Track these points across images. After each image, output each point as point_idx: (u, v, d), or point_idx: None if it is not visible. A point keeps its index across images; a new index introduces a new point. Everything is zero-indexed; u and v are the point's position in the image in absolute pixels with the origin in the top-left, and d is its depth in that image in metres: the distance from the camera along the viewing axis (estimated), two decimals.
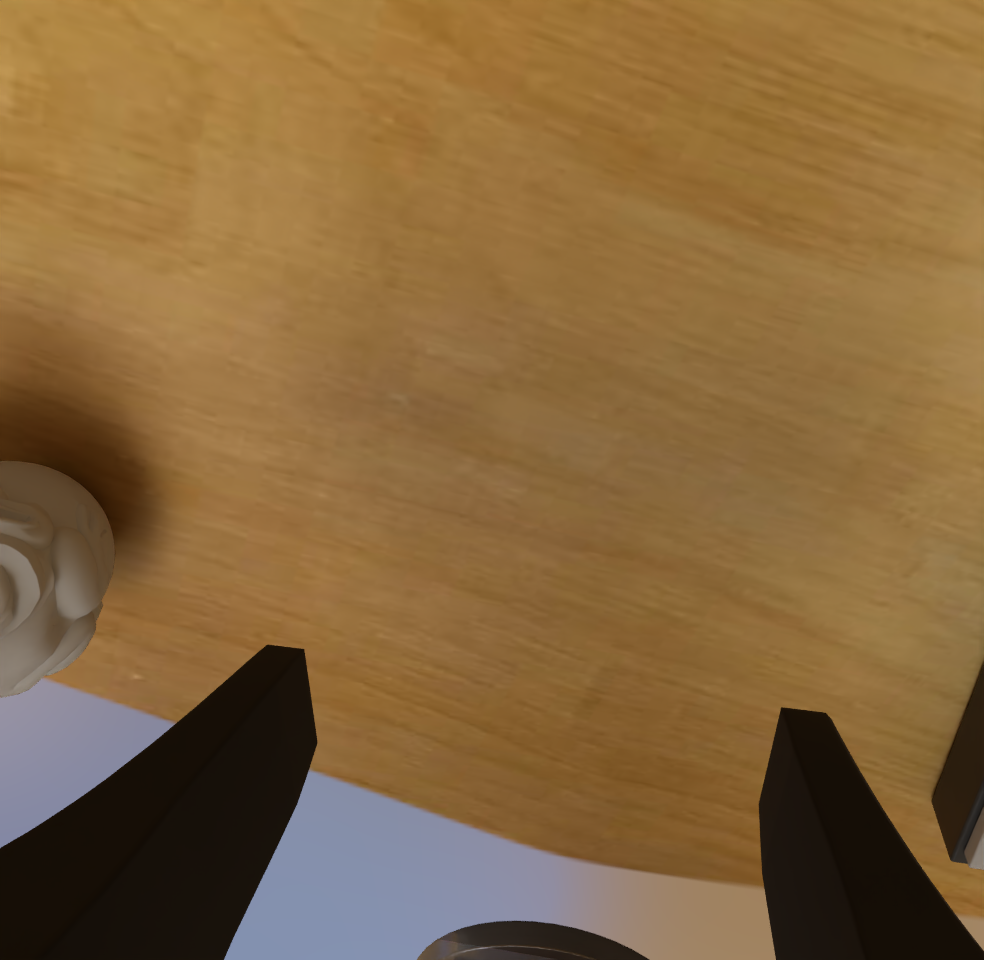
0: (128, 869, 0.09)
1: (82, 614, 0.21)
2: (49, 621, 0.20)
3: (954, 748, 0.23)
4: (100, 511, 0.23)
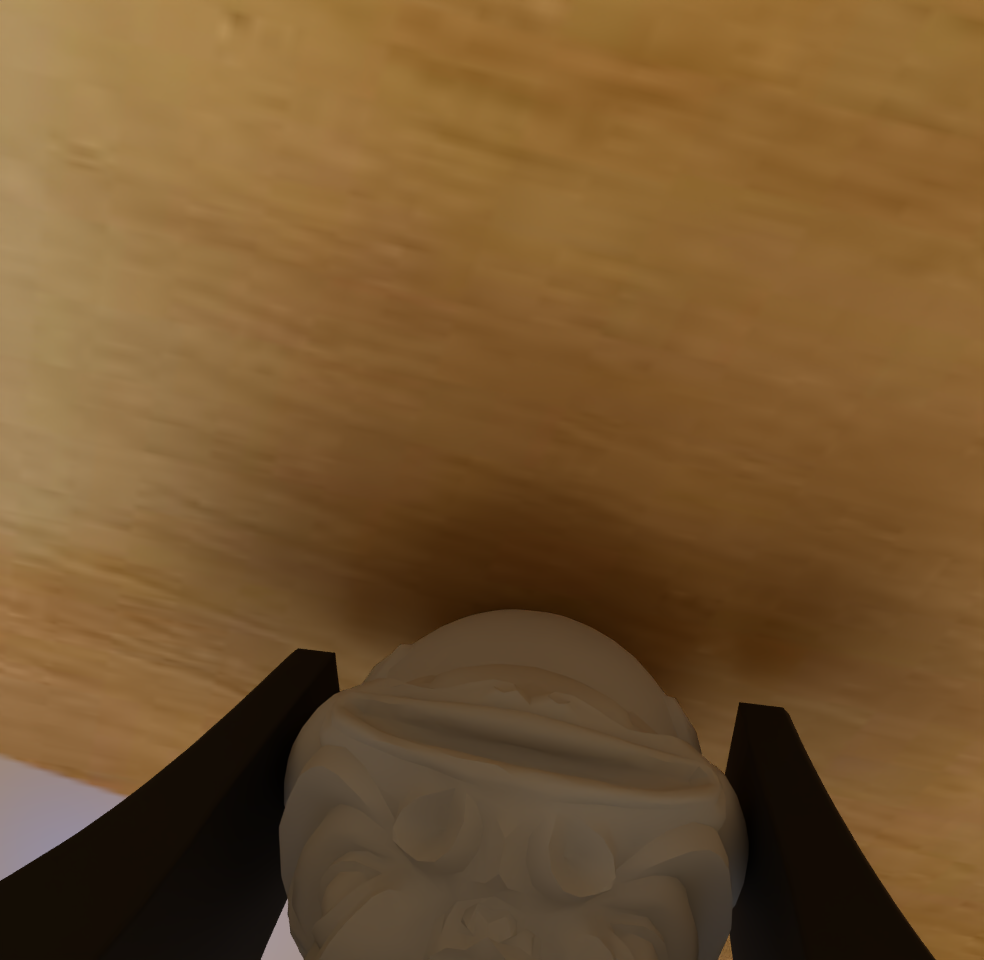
0: (172, 875, 0.09)
1: None
2: None
3: None
4: None
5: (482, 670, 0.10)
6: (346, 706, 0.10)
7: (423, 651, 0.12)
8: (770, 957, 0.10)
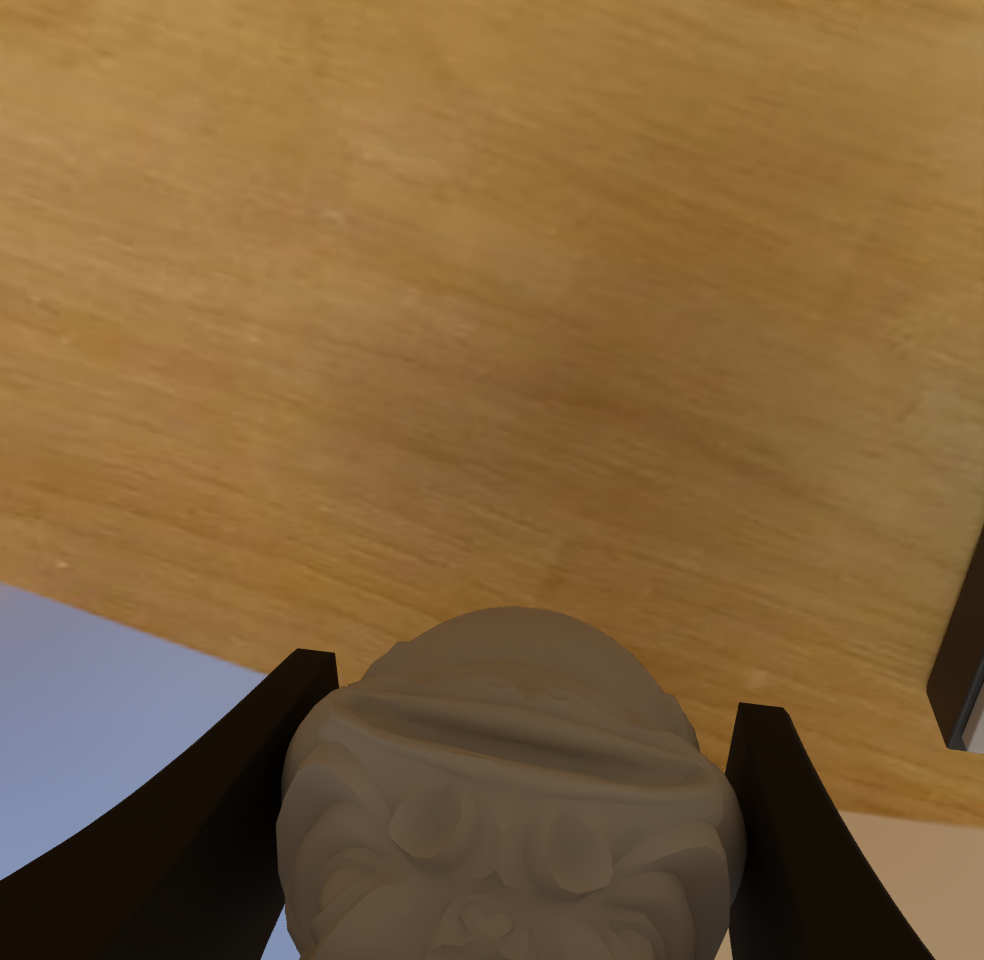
0: (172, 875, 0.09)
1: None
2: None
3: (952, 625, 0.21)
4: None
5: (479, 667, 0.10)
6: (343, 703, 0.10)
7: (421, 647, 0.12)
8: (770, 957, 0.10)
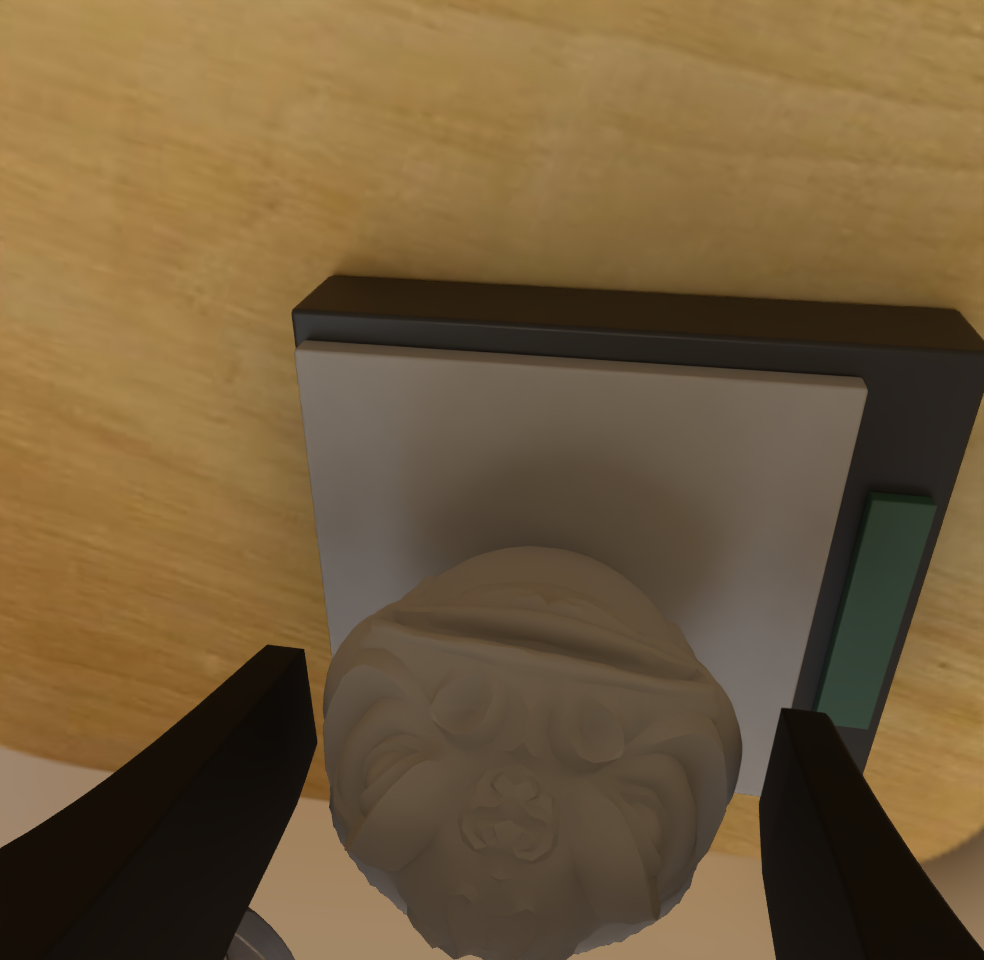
0: (129, 869, 0.09)
1: None
2: None
3: None
4: None
5: (504, 584, 0.11)
6: (383, 617, 0.11)
7: (447, 579, 0.13)
8: None
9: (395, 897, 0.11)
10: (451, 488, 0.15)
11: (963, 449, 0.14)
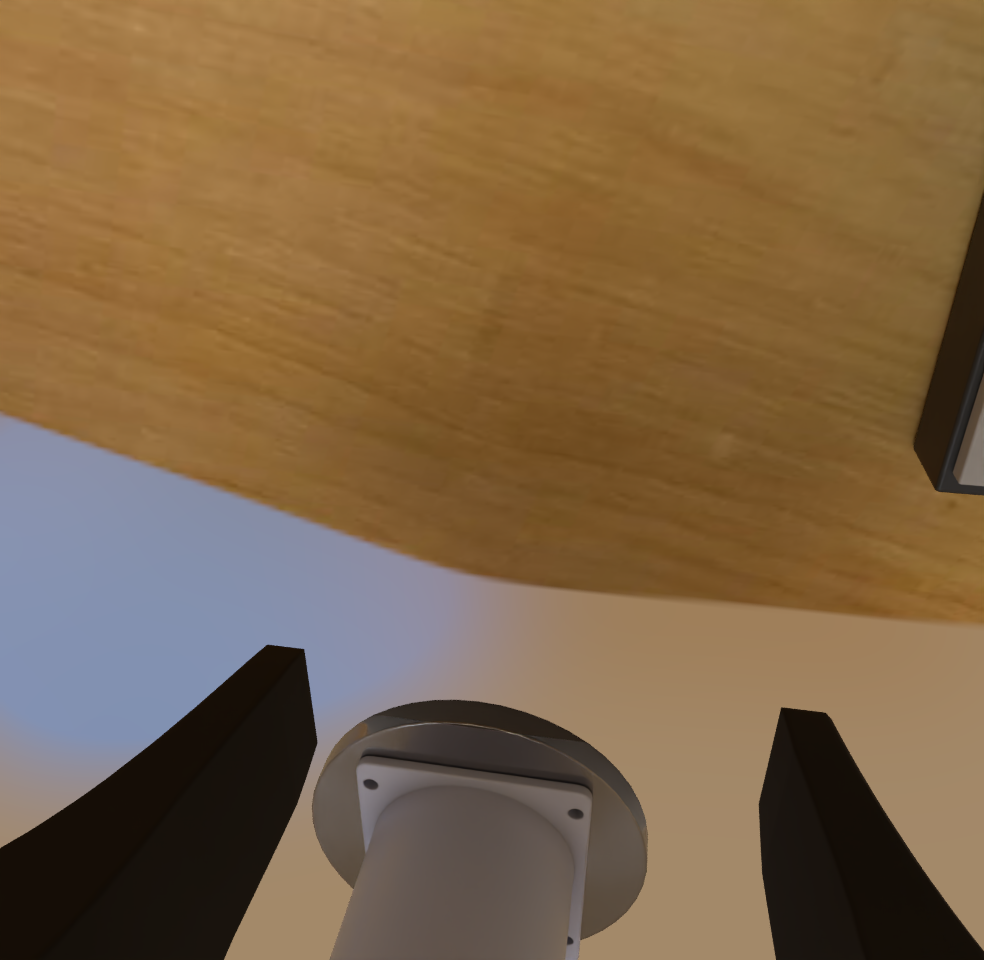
0: (128, 869, 0.09)
1: None
2: None
3: (941, 354, 0.18)
4: None
5: None
6: None
7: None
8: None
9: None
10: None
11: None
